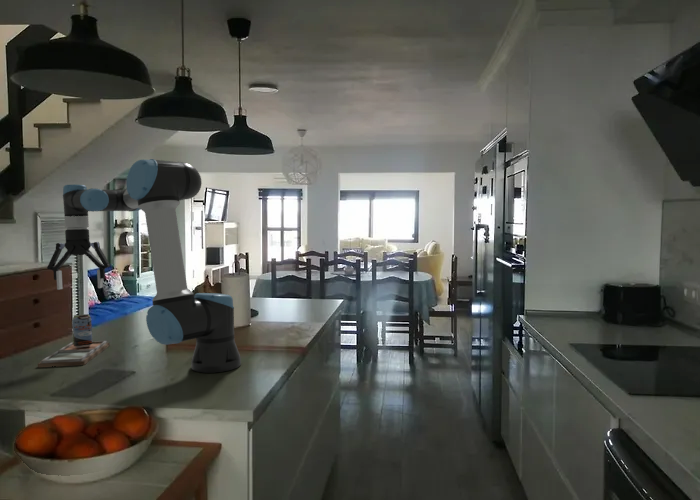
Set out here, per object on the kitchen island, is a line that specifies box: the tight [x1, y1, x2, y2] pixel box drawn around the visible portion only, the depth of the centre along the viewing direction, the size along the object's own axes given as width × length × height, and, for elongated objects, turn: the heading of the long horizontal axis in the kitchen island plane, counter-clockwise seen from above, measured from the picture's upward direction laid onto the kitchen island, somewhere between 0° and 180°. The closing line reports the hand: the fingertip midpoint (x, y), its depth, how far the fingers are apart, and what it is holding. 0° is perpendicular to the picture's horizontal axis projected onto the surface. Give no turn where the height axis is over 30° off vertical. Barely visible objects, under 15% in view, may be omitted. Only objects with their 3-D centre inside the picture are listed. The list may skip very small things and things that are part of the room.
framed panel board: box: [37, 340, 110, 368], centre depth 184 cm, size 26×14×2 cm, turn 7°
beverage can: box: [71, 313, 93, 348], centre depth 190 cm, size 6×7×12 cm
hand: (80, 288), depth 189 cm, fingers open, 13 cm apart
